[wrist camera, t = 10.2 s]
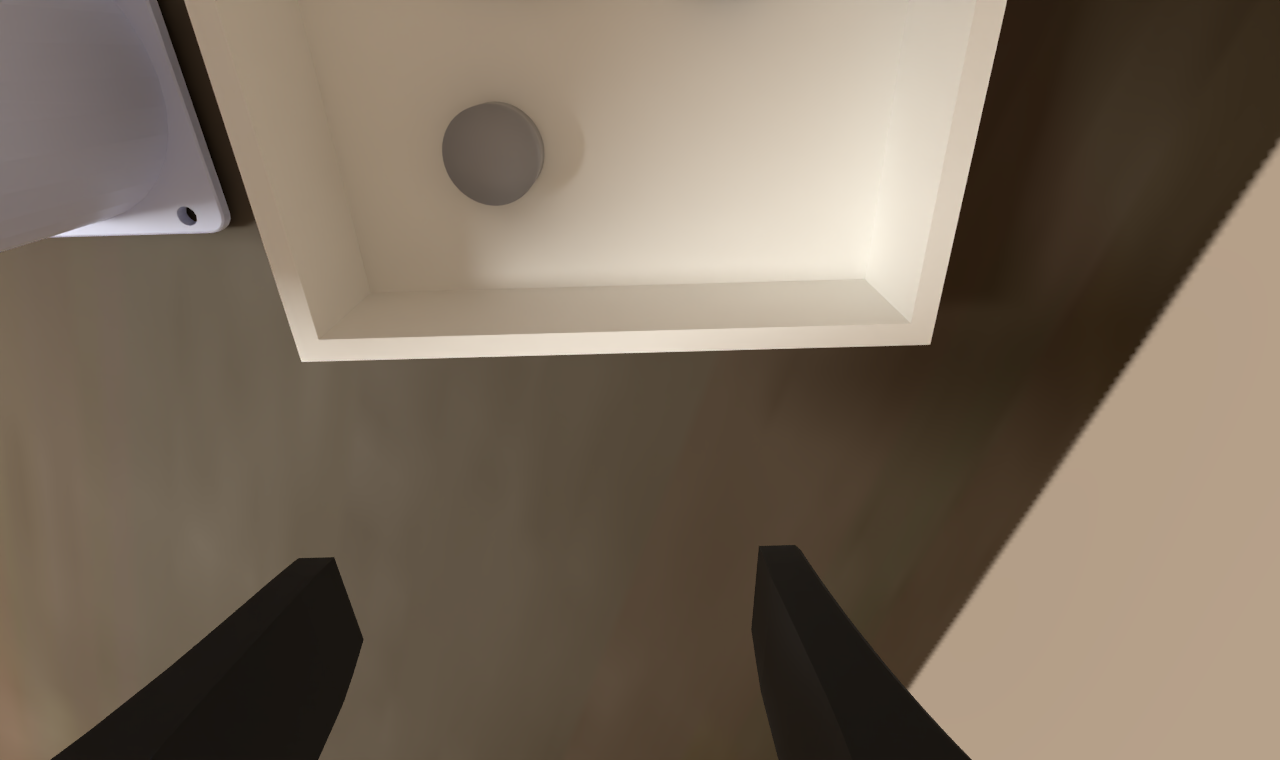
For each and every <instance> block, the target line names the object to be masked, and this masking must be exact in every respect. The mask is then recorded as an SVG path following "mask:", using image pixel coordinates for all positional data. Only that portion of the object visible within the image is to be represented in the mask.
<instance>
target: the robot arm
mask: <svg viewBox="0 0 1280 760" xmlns="http://www.w3.org/2000/svg"><path fill="white" fill-rule="evenodd" d="M187 207H188V208H190V209H191V210H193V211H194V213H195V214H196V216H197V222H196V221H193V220H192V219H191V218H189V216H188V215H187V212H186V208H187ZM230 220H231V217H230V212H229V209H228V206H227V203H226V200H225V197H224V194H223V191H222V188H221V185H220V182H219V179H218V177H217V174H216V171H215V168H214V165H213V162H212V159H211V156H210V153H209V150H208V147H207V145H206V142H205V139H204V136H203V133H202V130H201V127H200V124H199V121H198V118H197V115H196V112H195V110H194V107H193V104H192V101H191V98H190V95H189V92H188V89H187V86H186V83H185V80H184V77H183V75H182V72H181V69H180V66H179V63H178V60H177V57H176V54H175V51H174V48H173V45H172V42H171V40H170V37H169V34H168V31H167V28H166V25H165V22H164V19H163V16H162V13H161V10H160V8H159V5H158V2H157V0H0V252H3V251H6V250H10V249H13V248H16V247H19V246H23V245H26V244H29V243H32V242H35V241H39V240H42V239H45V238H48V237H83V236H119V235H155V234H191V233H214V232H218V231H221V230H223V229H225V228H226V227H227V226H228V225H229V223H230ZM751 630H752V636H753V643H754V650H755V657H756V663H757V670H758V676H759V682H760V688H761V693H762V697H763V701H764V705H765V709H766V713H767V717H768V721H769V725H770V728H771V732H772V736H773V740H774V744H775V748H776V752H777V755H778V759H779V760H971V759H970V758H969V756H968V755H967V754H965V753H964V751H963V750H961V748H960V747H959V746H958V745H957V744H956V743H955V742H954V741H953V740H952V739H951V738H950V737H949V736H948V735H947V734H946V733H945V732H944V730H943V729H942V728H941V727H940V726H939V725H938V724H937V723H936V722H935V721H934V720H933V719H932V717H931V716H930V715H929V714H928V713H927V712H926V711H925V710H924V709H923V708H922V706H921V705H920V704H919V703H918V702H917V701H916V700H915V698H914V697H913V696H912V695H911V694H910V693H909V691H908V690H907V689H906V688H905V687H904V686H903V685H902V684H901V682H900V681H899V680H898V679H897V678H896V676H895V675H894V674H893V673H892V672H891V670H890V669H889V668H888V667H887V666H886V664H885V663H884V662H883V661H882V660H881V658H880V657H879V656H878V655H877V653H876V652H875V651H874V650H873V648H872V647H871V646H870V645H869V643H868V642H867V641H866V640H865V638H864V637H863V636H862V635H861V633H860V632H859V631H858V630H857V628H856V627H855V626H854V624H853V623H852V622H851V620H850V619H849V618H848V617H847V615H846V614H845V613H844V611H843V610H842V608H841V607H840V606H839V604H838V603H837V602H836V600H835V599H834V598H833V596H832V595H831V594H830V592H829V591H828V589H827V588H826V587H825V585H824V584H823V582H822V581H821V579H820V578H819V577H818V575H817V574H816V572H815V571H814V569H813V568H812V566H811V565H810V563H809V562H808V560H807V559H806V557H805V556H804V554H803V553H802V551H801V550H800V549H799V548H798V547H797V546H796V545H782V546H759V552H758V563H757V574H756V585H755V596H754V607H753V618H752V629H751ZM362 643H363V637H362V634H361V631H360V628H359V626H358V623H357V620H356V617H355V614H354V612H353V609H352V606H351V603H350V600H349V598H348V595H347V592H346V589H345V587H344V584H343V581H342V578H341V575H340V573H339V570H338V567H337V564H336V561H335V559H334V557H331V558H298V559H297V560H296V561H294V562H293V563H292V564H291V565H289V566H288V567H287V568H286V569H285V570H283V571H282V572H281V573H280V574H279V575H277V576H276V577H275V578H274V579H273V580H271V581H270V582H269V583H268V584H267V585H266V586H264V587H263V588H262V589H261V590H260V591H259V592H257V593H256V594H255V595H254V596H253V597H252V598H250V599H249V600H248V601H247V602H246V603H245V604H243V605H242V606H241V607H240V608H239V609H238V610H236V611H235V612H234V613H233V614H232V615H231V616H229V617H228V618H227V619H226V620H225V621H224V622H222V623H221V624H220V625H219V626H218V627H217V628H215V629H214V630H213V631H212V632H211V633H209V634H208V635H207V636H206V637H205V638H204V639H202V640H201V641H200V642H199V643H198V644H196V645H195V646H194V647H193V648H192V649H191V650H189V651H188V652H187V653H186V654H185V655H183V656H182V657H181V658H180V659H179V660H178V661H176V662H175V663H174V664H173V665H172V666H170V667H169V668H168V669H167V670H165V671H164V672H163V673H162V674H160V675H159V676H158V677H157V678H155V679H154V680H153V681H152V682H150V683H149V684H148V685H147V686H145V687H144V688H143V689H142V690H140V691H139V692H138V693H136V694H135V695H134V696H133V697H131V698H130V699H129V700H128V701H126V702H125V703H124V704H123V705H121V706H120V707H119V708H118V709H116V710H115V711H114V712H113V713H111V714H110V715H109V716H108V717H106V718H105V719H104V720H103V721H101V722H100V723H99V724H97V725H96V726H95V727H94V728H92V729H91V730H90V731H88V732H87V733H86V734H84V735H83V736H82V737H80V738H79V739H78V740H77V741H75V742H74V743H73V744H71V745H70V746H68V747H67V748H66V749H64V750H63V751H62V752H60V753H59V754H58V755H56V756H55V757H54V758H52V759H51V760H318V759H319V756H320V754H321V752H322V750H323V748H324V745H325V743H326V741H327V739H328V736H329V734H330V732H331V730H332V727H333V725H334V723H335V721H336V719H337V716H338V714H339V712H340V709H341V707H342V705H343V702H344V700H345V697H346V694H347V691H348V688H349V685H350V682H351V679H352V676H353V673H354V669H355V666H356V663H357V659H358V656H359V653H360V649H361V646H362Z"/></svg>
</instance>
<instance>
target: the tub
mask: <svg viewBox="0 0 1280 760" xmlns="http://www.w3.org/2000/svg"><path fill="white" fill-rule="evenodd" d="M184 2H185V5H186V8H187V11H188V14H189V17H190V20H191V23H192V26H193V29H194V32H195V36H196V39H197V42H198V45H199V48H200V51H201V54H202V57H203V60H204V63H205V66H206V69H207V72H208V76H209V79H210V82H211V85H212V88H213V91H214V94H215V97H216V100H217V103H218V106H219V109H220V112H221V116H222V119H223V122H224V125H225V128H226V131H227V134H228V137H229V140H230V143H231V146H232V149H233V152H234V156H235V159H236V162H237V165H238V168H239V171H240V174H241V177H242V180H243V183H244V186H245V189H246V192H247V196H248V199H249V202H250V205H251V208H252V211H253V214H254V217H255V220H256V223H257V226H258V229H259V232H260V236H261V239H262V242H263V245H264V248H265V251H266V254H267V257H268V260H269V263H270V266H271V269H272V272H273V276H274V279H275V282H276V285H277V288H278V291H279V294H280V297H281V300H282V303H283V306H284V309H285V312H286V315H287V319H288V322H289V325H290V328H291V331H292V334H293V337H294V340H295V343H296V346H297V349H298V352H299V355H300V359H301V362H315V361H352V360H388V359H425V358H461V357H498V356H535V355H571V354H608V353H645V352H681V351H718V350H754V349H791V348H828V347H864V346H901V345H930V343H931V339H932V334H933V330H934V325H935V321H936V317H937V312H938V308H939V303H940V299H941V294H942V290H943V285H944V281H945V276H946V272H947V267H948V263H949V258H950V254H951V249H952V245H953V240H954V236H955V231H956V227H957V222H958V218H959V214H960V209H961V205H962V200H963V196H964V191H965V187H966V182H967V178H968V173H969V169H970V164H971V160H972V155H973V151H974V146H975V142H976V137H977V133H978V128H979V124H980V120H981V115H982V111H983V106H984V102H985V97H986V93H987V88H988V84H989V79H990V75H991V70H992V66H993V61H994V57H995V52H996V48H997V43H998V39H999V34H1000V30H1001V25H1002V21H1003V17H1004V12H1005V8H1006V3H1007V0H184Z"/></svg>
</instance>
